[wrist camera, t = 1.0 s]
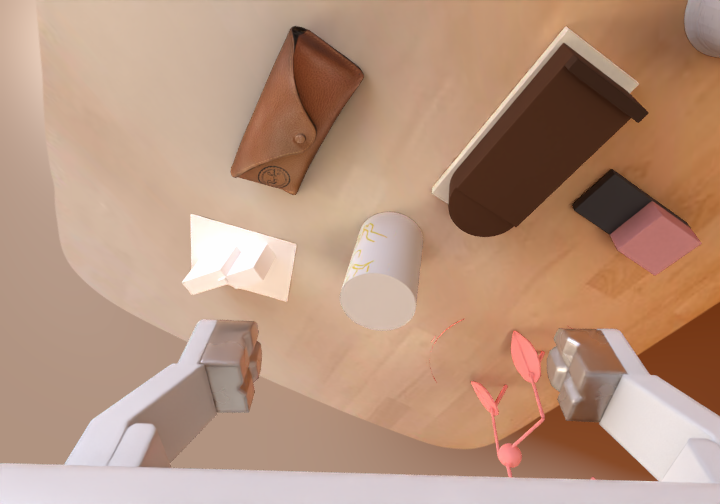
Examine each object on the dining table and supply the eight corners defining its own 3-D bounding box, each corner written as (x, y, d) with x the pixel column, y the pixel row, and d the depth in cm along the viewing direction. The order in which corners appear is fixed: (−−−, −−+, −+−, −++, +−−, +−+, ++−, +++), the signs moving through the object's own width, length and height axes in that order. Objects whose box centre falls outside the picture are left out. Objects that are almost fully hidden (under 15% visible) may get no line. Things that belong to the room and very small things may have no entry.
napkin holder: (191, 275, 67) (172, 301, 63) (189, 213, 60) (167, 237, 56) (288, 302, 67) (275, 329, 62) (296, 242, 60) (283, 269, 55)
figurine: (589, 318, 59) (707, 672, 31) (482, 414, 74) (496, 707, 46) (486, 270, 57) (512, 599, 29) (399, 378, 73) (362, 660, 45)
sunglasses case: (297, 200, 55) (256, 210, 50) (263, 163, 57) (220, 168, 52) (369, 70, 45) (326, 66, 40) (325, 29, 47) (278, 20, 42)
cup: (376, 201, 54) (358, 260, 45) (435, 230, 55) (430, 295, 46) (349, 247, 59) (328, 310, 49) (404, 274, 60) (393, 340, 50)
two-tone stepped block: (571, 204, 50) (579, 225, 47) (611, 168, 47) (623, 187, 44) (643, 254, 52) (656, 276, 49) (687, 222, 49) (703, 244, 46)
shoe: (565, 25, 40) (584, 43, 34) (634, 79, 42) (663, 105, 36) (431, 187, 52) (428, 222, 46) (489, 224, 53) (493, 262, 47)
